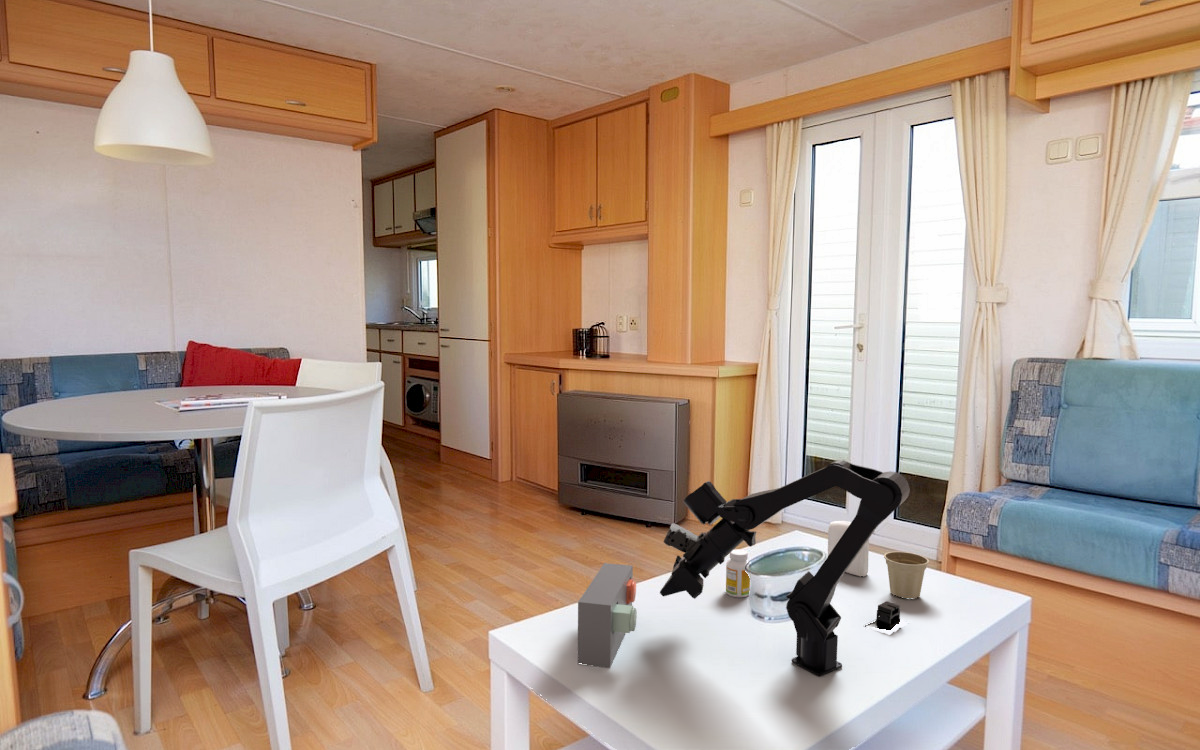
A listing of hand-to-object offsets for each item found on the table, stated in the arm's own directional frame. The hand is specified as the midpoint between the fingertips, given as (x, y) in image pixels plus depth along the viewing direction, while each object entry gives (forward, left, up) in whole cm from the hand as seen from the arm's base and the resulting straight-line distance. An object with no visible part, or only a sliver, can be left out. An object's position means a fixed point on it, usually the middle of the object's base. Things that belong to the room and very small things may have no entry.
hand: (661, 594), depth 139 cm
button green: (-5, +13, -2) cm, 14 cm away
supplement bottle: (+6, -27, -8) cm, 29 cm away
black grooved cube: (-22, -42, -9) cm, 48 cm away
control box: (+3, +11, -8) cm, 14 cm away
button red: (+6, +5, -2) cm, 8 cm away
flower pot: (-15, -59, -8) cm, 62 cm away
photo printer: (+2, -61, -8) cm, 62 cm away
